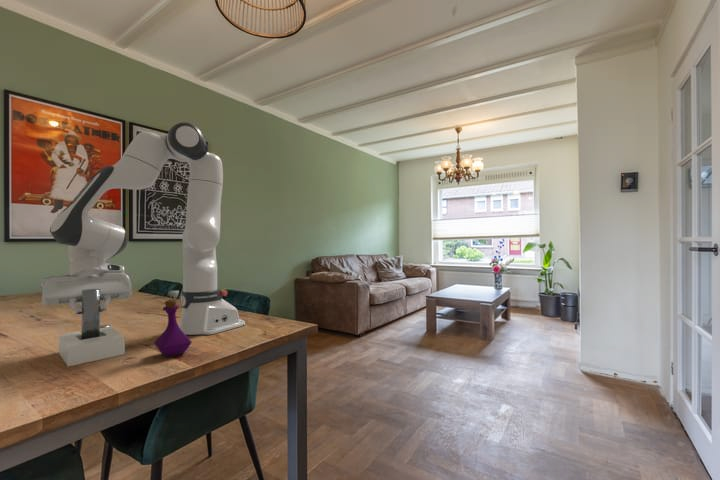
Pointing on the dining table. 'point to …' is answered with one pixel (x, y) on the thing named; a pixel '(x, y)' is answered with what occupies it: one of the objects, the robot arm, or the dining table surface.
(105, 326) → the short pin
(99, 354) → the guide block
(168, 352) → the perfume bottle
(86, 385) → the dining table surface
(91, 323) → the tall pin
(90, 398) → the dining table surface
